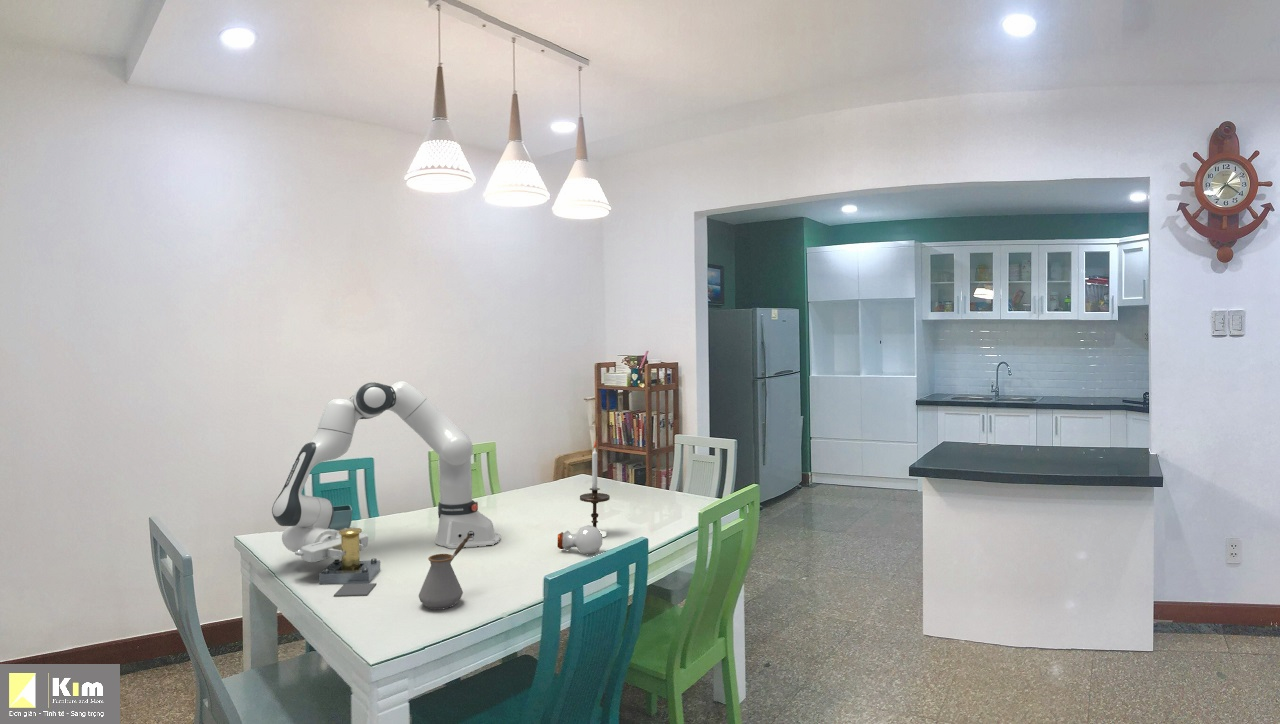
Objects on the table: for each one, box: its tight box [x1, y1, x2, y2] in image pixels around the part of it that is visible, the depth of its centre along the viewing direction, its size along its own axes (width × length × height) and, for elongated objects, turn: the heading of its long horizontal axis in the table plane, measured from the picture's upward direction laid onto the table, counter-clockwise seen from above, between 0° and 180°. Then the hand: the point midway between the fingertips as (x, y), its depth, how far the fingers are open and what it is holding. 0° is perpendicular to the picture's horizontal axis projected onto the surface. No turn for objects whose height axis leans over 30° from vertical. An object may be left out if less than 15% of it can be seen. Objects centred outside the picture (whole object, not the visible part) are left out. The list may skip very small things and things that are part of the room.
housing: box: [318, 558, 381, 585], centre depth 213 cm, size 14×12×4 cm
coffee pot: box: [418, 535, 474, 610], centre depth 196 cm, size 21×12×15 cm, turn 163°
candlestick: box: [579, 439, 611, 528], centre depth 259 cm, size 11×11×35 cm
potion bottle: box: [557, 524, 603, 556], centre depth 238 cm, size 9×10×15 cm
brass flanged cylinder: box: [339, 527, 363, 570], centre depth 213 cm, size 6×6×14 cm
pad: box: [333, 582, 377, 598], centre depth 202 cm, size 9×9×1 cm
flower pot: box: [329, 504, 353, 529], centre depth 262 cm, size 9×9×9 cm
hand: (352, 550), depth 213 cm, fingers closed on brass flanged cylinder, 5 cm apart
